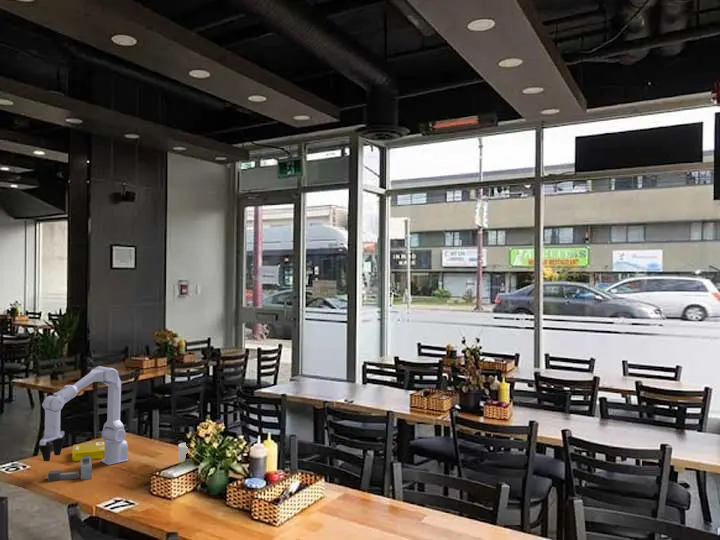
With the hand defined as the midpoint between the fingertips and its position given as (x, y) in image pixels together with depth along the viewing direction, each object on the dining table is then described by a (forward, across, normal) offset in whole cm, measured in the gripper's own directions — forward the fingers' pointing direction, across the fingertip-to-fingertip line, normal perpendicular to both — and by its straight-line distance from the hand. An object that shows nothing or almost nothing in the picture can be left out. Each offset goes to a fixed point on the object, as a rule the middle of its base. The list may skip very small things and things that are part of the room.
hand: (52, 457), depth 244 cm
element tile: (+10, +32, +1) cm, 34 cm away
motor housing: (+9, +6, -11) cm, 16 cm away
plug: (+9, +1, -4) cm, 10 cm away
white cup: (+9, +20, -50) cm, 55 cm away
